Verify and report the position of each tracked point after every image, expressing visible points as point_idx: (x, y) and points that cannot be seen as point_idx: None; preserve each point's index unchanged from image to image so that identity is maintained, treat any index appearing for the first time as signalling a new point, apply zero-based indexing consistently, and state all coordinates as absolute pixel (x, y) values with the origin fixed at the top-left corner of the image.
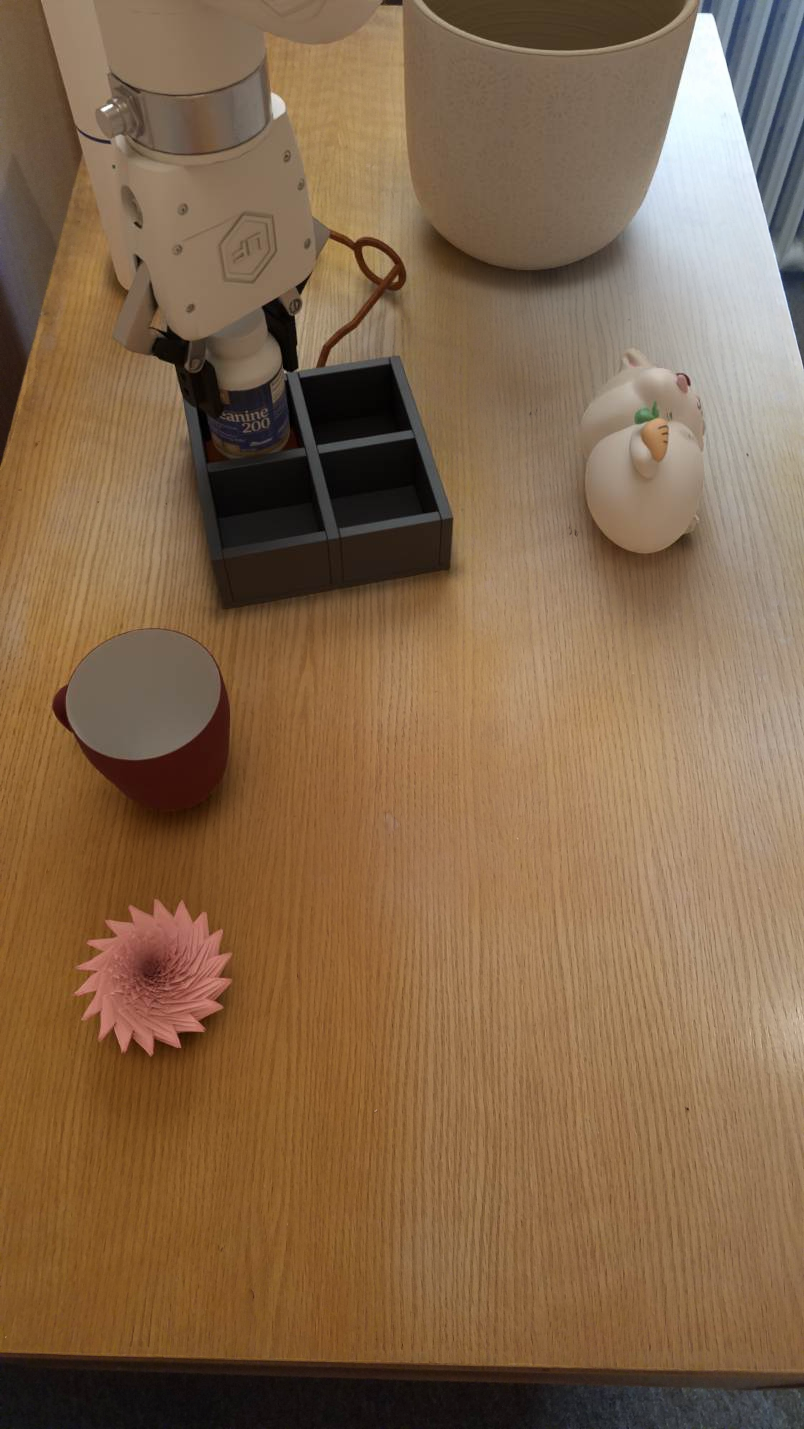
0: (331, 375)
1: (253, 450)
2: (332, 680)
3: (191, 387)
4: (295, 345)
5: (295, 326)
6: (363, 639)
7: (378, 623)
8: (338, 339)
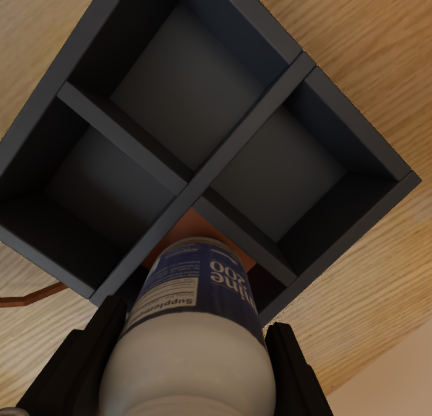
0: (60, 262)
1: (234, 257)
2: (385, 7)
3: (329, 410)
4: (84, 333)
5: (44, 369)
6: (321, 12)
7: (293, 11)
8: (4, 299)
